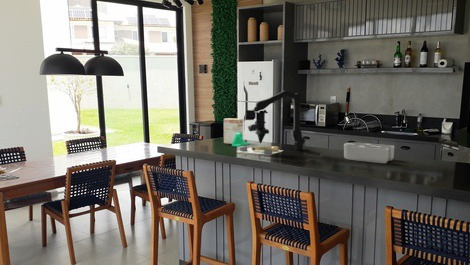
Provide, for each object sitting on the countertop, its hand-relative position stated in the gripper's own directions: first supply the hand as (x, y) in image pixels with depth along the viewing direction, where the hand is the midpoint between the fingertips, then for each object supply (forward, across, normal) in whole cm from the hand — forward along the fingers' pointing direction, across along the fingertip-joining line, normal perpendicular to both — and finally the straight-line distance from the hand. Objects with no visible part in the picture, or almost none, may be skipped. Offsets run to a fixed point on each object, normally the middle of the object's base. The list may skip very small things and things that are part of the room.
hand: (260, 142), depth 274 cm
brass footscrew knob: (+5, +4, +2) cm, 7 cm away
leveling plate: (+7, +3, -1) cm, 7 cm away
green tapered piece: (+7, -29, -6) cm, 30 cm away
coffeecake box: (+7, -46, -8) cm, 47 cm away
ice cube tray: (+7, +41, +55) cm, 69 cm away
